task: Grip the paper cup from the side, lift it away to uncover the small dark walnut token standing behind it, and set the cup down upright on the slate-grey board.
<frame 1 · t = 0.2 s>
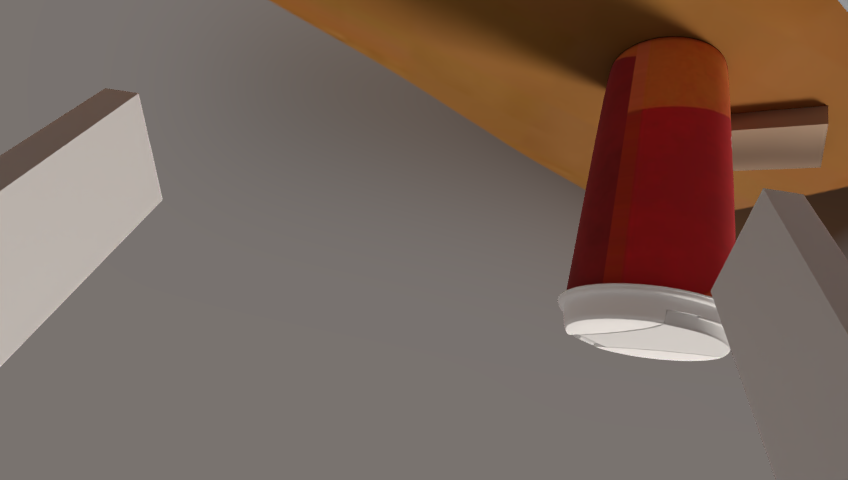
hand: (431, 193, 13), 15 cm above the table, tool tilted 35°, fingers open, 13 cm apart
paper cup: (668, 69, 30), on the table
walnut token: (775, 126, 33), on the table
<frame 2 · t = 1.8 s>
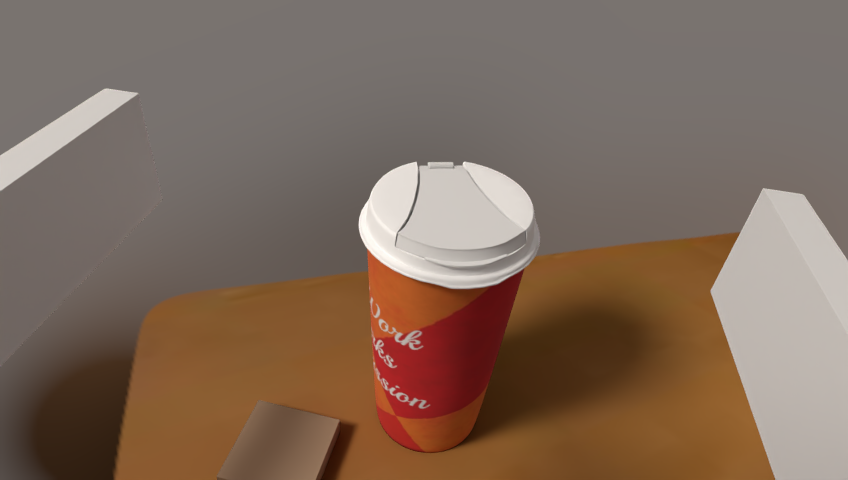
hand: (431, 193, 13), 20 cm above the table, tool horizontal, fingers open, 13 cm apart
paper cup: (426, 411, 33), on the table
walnut token: (283, 463, 30), on the table
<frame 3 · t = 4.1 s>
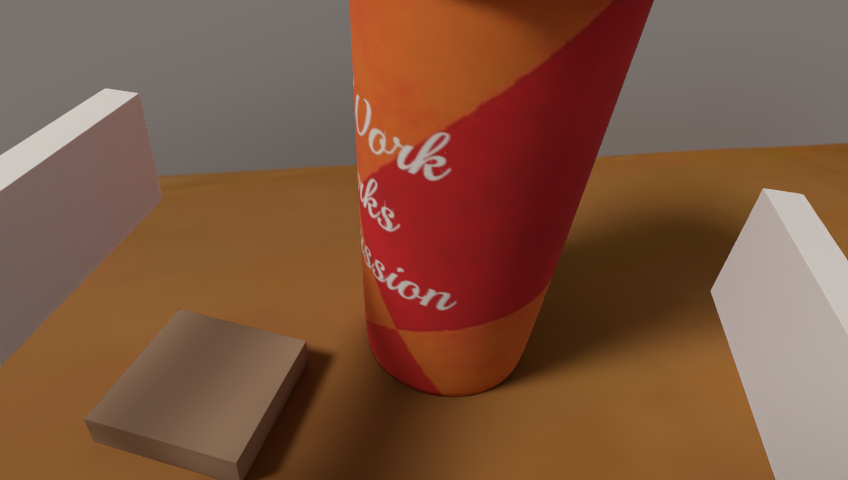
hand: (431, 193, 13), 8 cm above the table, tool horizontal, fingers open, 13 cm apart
paper cup: (444, 339, 21), on the table
walnut token: (211, 408, 18), on the table
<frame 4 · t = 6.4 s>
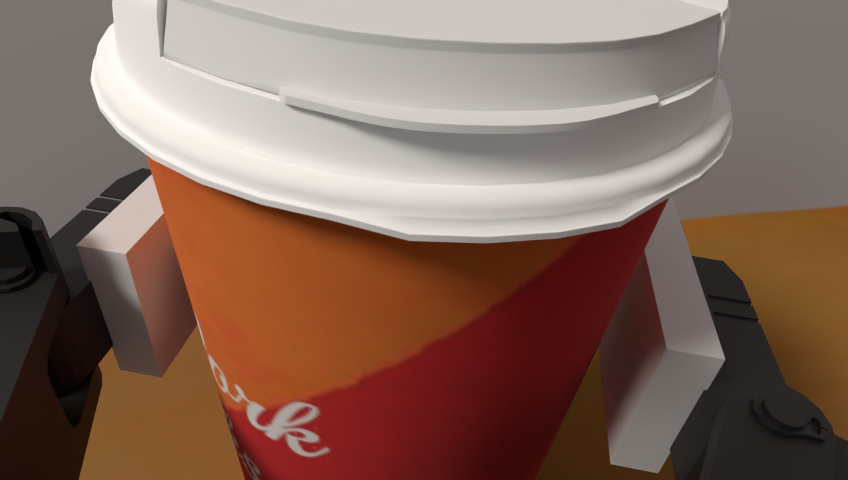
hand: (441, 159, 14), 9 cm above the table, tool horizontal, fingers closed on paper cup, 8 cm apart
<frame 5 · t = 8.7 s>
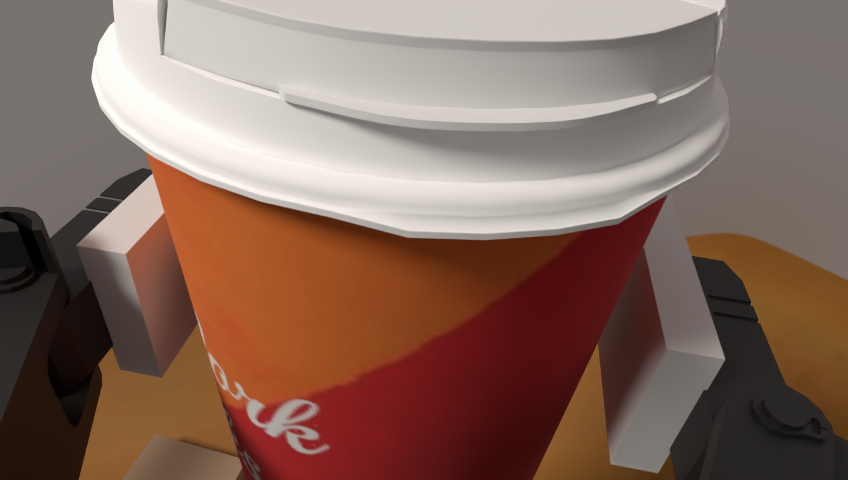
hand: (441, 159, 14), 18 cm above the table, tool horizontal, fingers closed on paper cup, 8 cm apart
when the fingers open (11 cm above the table, at t = 11.2 s): paper cup drops 1 cm, resting on slate board.
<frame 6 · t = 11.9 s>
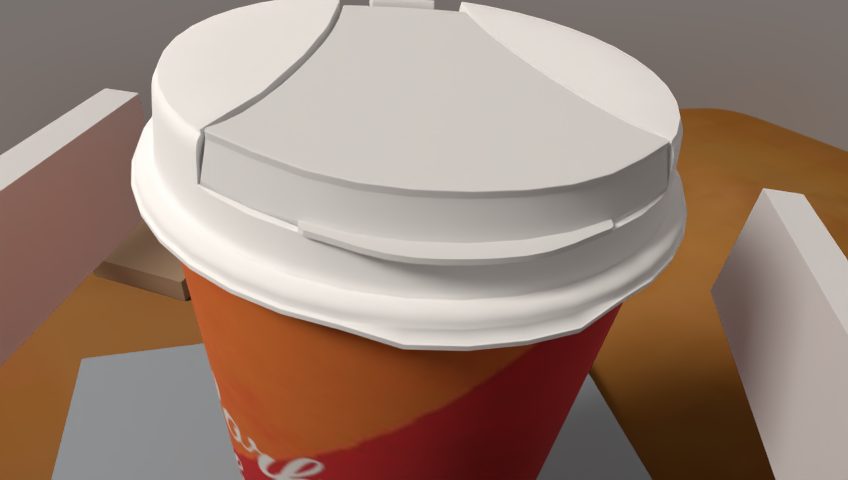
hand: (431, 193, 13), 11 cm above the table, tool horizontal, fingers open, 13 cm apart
walnut token: (173, 264, 27), on the table
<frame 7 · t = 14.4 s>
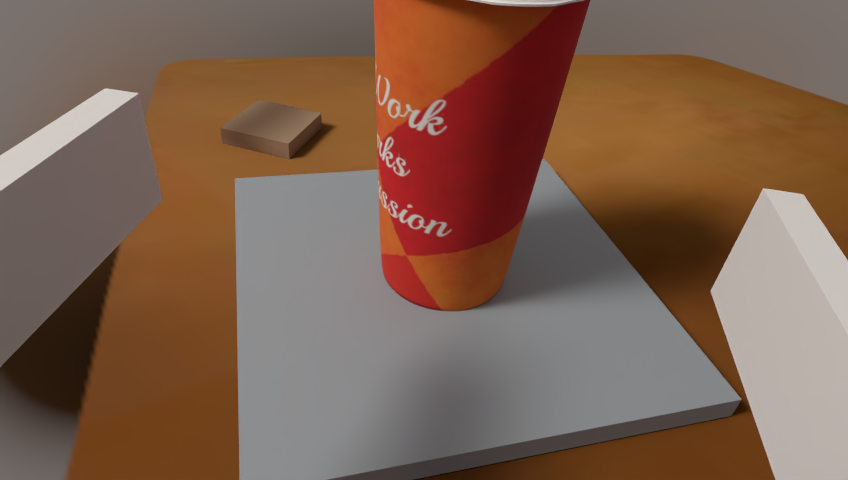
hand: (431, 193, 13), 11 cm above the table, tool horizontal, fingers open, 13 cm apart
paper cup: (442, 272, 26), point 1 cm above the table, touching slate board
slate board: (442, 286, 27), on the table
walnut token: (274, 141, 37), on the table
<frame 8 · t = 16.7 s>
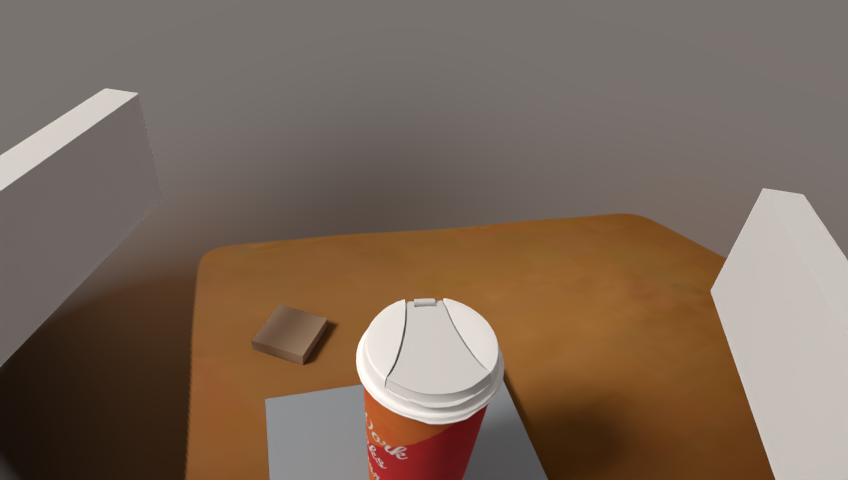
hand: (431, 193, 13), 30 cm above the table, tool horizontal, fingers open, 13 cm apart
walnut token: (291, 341, 49), on the table
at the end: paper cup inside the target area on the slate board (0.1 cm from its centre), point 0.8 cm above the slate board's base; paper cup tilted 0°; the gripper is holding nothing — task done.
